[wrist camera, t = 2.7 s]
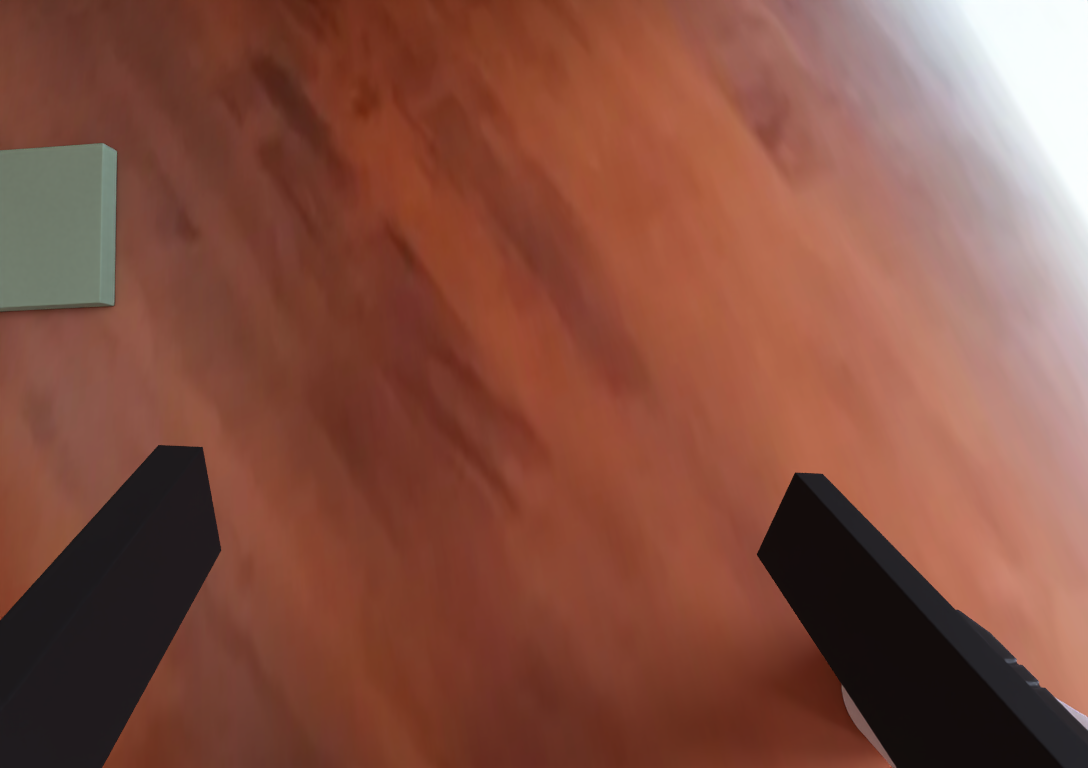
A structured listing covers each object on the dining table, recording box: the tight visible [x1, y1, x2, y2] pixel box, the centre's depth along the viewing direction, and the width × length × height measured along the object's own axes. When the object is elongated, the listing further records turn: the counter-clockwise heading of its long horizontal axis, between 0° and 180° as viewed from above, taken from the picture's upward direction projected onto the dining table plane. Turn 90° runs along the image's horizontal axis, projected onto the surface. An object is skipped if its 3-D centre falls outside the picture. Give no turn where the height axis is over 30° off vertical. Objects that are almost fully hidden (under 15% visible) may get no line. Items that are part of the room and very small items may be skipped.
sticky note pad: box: [0, 143, 117, 311], centre depth 32 cm, size 10×10×1 cm
